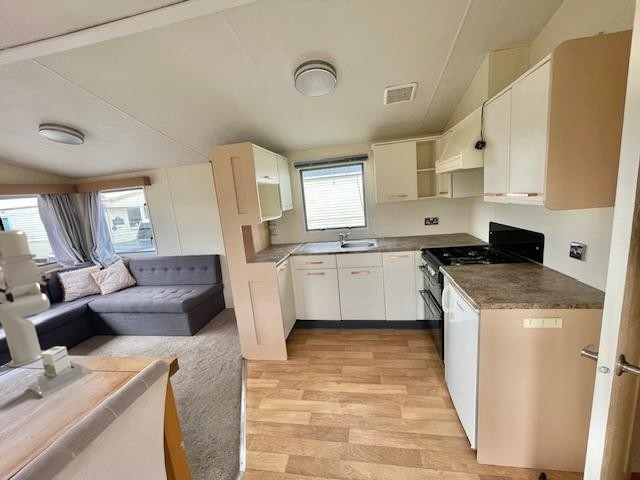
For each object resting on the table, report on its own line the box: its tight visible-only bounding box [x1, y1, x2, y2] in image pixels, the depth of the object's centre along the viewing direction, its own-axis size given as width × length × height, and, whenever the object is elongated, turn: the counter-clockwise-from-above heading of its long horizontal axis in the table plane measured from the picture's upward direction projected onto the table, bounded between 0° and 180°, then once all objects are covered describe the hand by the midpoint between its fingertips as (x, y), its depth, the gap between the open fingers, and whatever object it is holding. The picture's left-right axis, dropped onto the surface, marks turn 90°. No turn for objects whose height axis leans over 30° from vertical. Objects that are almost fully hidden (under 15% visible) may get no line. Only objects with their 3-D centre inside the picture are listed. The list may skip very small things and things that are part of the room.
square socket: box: [27, 360, 93, 398], centre depth 110 cm, size 14×16×4 cm
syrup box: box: [40, 346, 71, 378], centre depth 109 cm, size 6×6×14 cm
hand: (28, 297), depth 111 cm, fingers open, 9 cm apart
